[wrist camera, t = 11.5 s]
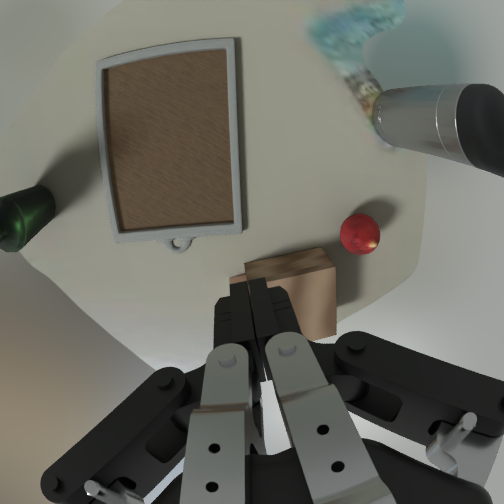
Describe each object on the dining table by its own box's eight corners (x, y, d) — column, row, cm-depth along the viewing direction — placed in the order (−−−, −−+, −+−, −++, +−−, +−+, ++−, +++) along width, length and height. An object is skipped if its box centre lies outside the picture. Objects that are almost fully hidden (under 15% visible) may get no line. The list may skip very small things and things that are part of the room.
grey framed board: (234, 37, 26) (243, 251, 39) (234, 40, 28) (243, 246, 41) (95, 61, 25) (118, 259, 38) (99, 63, 27) (121, 255, 40)
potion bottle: (21, 213, 34) (-47, 260, 17) (32, 171, 31) (-46, 206, 15) (52, 236, 36) (-13, 295, 20) (66, 195, 34) (-10, 242, 18)
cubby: (321, 247, 41) (335, 266, 36) (324, 311, 47) (336, 334, 41) (244, 263, 41) (247, 286, 36) (258, 326, 47) (263, 352, 41)
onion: (347, 249, 42) (369, 274, 35) (325, 226, 40) (345, 249, 33) (372, 224, 41) (398, 244, 33) (351, 199, 39) (377, 216, 31)
